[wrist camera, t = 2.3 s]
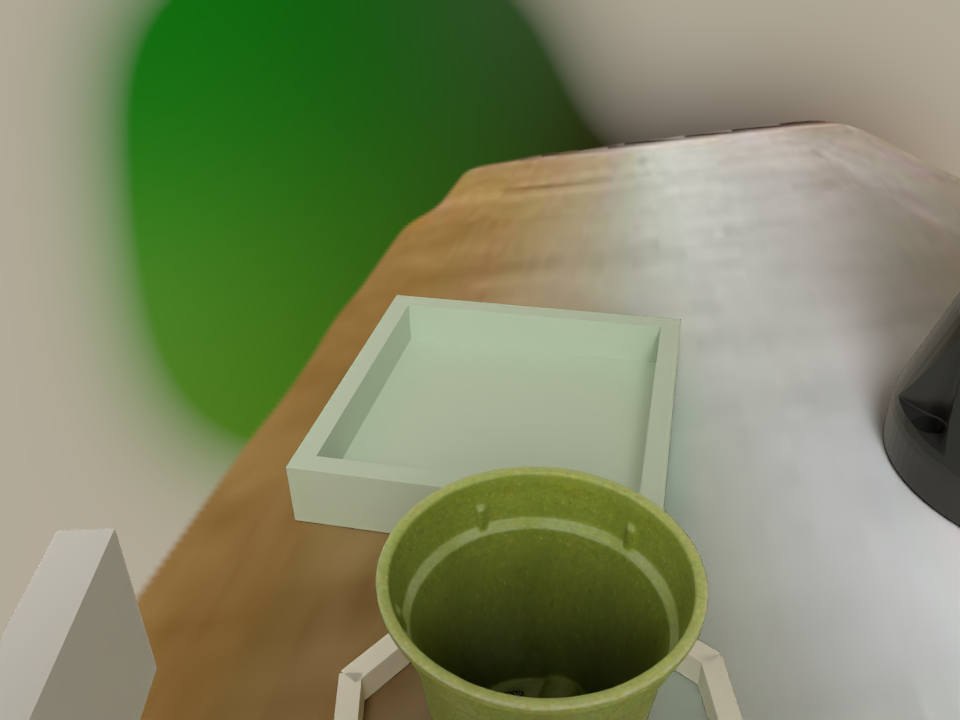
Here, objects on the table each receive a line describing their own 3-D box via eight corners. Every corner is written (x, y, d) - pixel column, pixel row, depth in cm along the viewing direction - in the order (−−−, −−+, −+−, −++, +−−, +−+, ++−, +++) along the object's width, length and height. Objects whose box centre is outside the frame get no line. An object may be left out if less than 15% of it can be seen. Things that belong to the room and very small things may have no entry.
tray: (400, 340, 54) (396, 295, 53) (676, 366, 51) (680, 319, 50) (295, 520, 41) (285, 467, 40) (657, 571, 38) (662, 516, 36)
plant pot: (589, 612, 36) (597, 435, 32) (739, 819, 29) (780, 627, 24) (361, 698, 33) (335, 515, 28) (466, 955, 26) (452, 764, 21)
